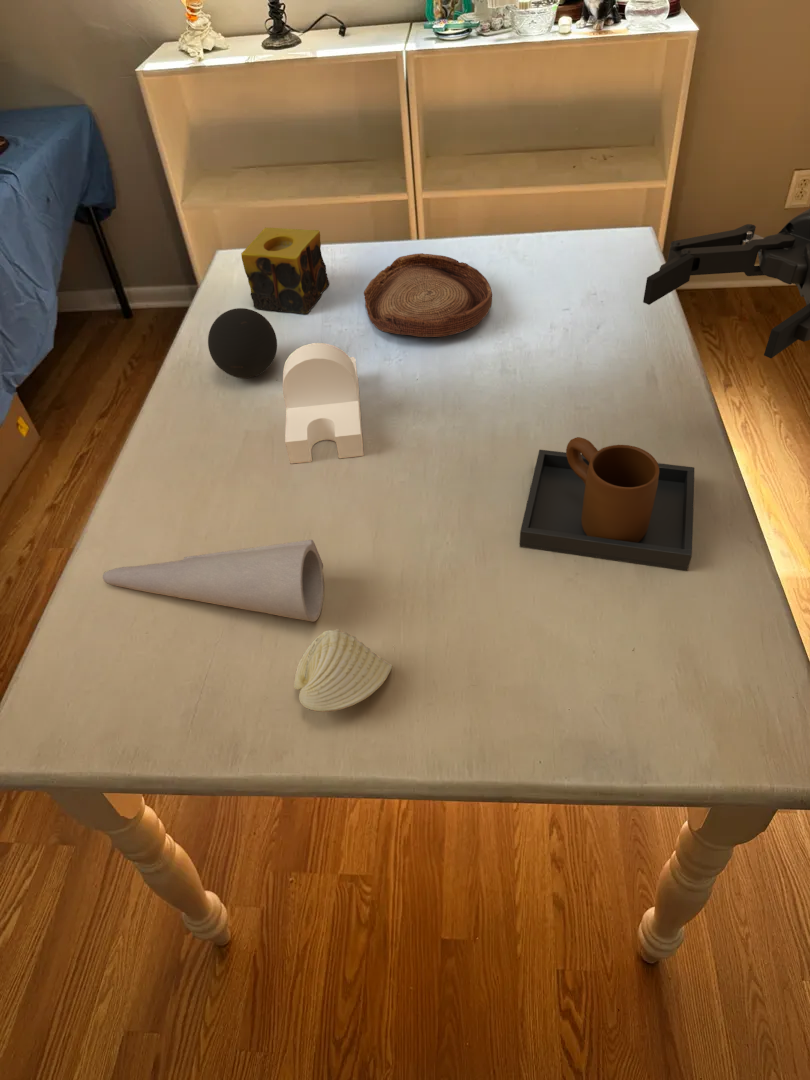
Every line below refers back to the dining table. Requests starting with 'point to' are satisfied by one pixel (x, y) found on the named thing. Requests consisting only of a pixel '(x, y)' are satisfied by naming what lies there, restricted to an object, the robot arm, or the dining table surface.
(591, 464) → the mug
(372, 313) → the basket
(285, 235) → the candle
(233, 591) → the planter
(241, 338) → the speaker
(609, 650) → the dining table surface
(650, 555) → the tray
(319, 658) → the seashell
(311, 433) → the block with arch cutout
